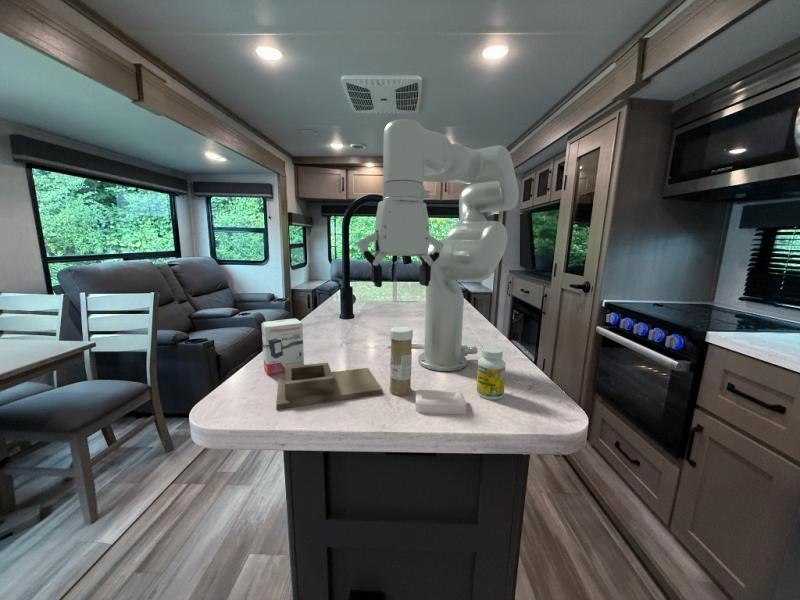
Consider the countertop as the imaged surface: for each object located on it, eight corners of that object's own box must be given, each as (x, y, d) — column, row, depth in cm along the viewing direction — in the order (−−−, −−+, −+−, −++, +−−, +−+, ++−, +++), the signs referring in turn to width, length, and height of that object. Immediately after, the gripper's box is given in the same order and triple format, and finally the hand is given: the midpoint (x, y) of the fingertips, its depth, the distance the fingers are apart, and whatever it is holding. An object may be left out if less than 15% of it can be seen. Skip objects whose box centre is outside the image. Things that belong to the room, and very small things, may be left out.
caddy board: (368, 371, 73) (367, 355, 72) (382, 393, 62) (382, 375, 61) (278, 382, 66) (277, 365, 66) (276, 409, 55) (275, 388, 54)
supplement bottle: (507, 393, 63) (510, 349, 61) (497, 403, 59) (500, 356, 57) (483, 386, 66) (485, 343, 64) (471, 394, 62) (474, 349, 60)
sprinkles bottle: (385, 389, 64) (386, 327, 62) (403, 384, 66) (404, 324, 64) (397, 398, 60) (398, 332, 58) (415, 392, 62) (417, 329, 60)
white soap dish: (466, 416, 55) (466, 403, 54) (415, 414, 55) (416, 401, 55) (461, 401, 60) (461, 390, 59) (415, 399, 60) (415, 388, 60)
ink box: (267, 376, 70) (264, 326, 68) (263, 369, 74) (260, 321, 72) (304, 368, 74) (303, 321, 72) (299, 362, 78) (297, 317, 76)
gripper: (435, 201, 63) (433, 283, 66) (353, 195, 57) (354, 284, 60) (453, 195, 56) (449, 287, 59) (362, 187, 50) (362, 289, 53)
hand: (401, 285), depth 60 cm, fingers open, 9 cm apart
